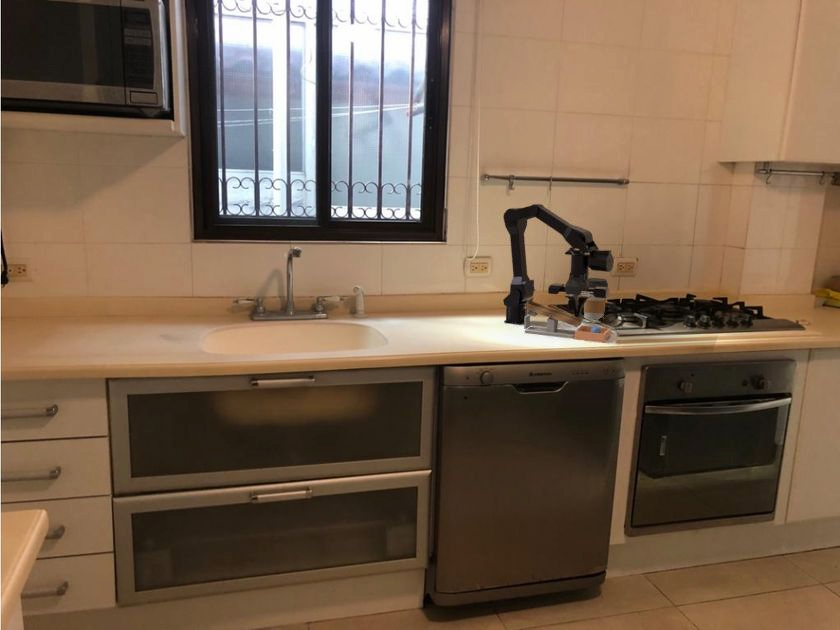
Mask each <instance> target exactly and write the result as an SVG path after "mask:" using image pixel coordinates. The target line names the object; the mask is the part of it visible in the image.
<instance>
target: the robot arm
mask: <svg viewBox="0 0 840 630" xmlns="http://www.w3.org/2000/svg"><path fill="white" fill-rule="evenodd" d="M534 218H536V219H538V221H539V220H540V222H542V223H543V224H545V225H546V226H548V227H549V228H551V229H553V230H554V231H556V232H557V233H559V234H560V235H561V236H562V238H563V239H564V242H566V243H567V244H568V245H569V246H571V247H569V249H568V250H566V251H565V252H564V254H565V256H566V255H567V256H570V270H569V271H570V272H569V277H568V280H567V281H566V282H565V283H558V282H557V283H556V282H555V283H551V284H550V285H549V286H548V289H547V290H548V291H547V293H548V294H550V295H558V294H559V293H565V296H564V297H565V298H567V299H568V300H569V301H570V304H571V306H572V310H573V313H574V315H575V316H576V317H578V316H580V314H581V312H582V310H583V309H584V303H585V302H586V300H587V299H589V298H590V297H591V294H593V295H594V296H595V297H596V298H606V299H607V298H608V297H609V296H610V288H609V286H608V287H599V286H597V287H595V288H594V289H590V288H589V283H588V278H589V274H590V270H591V271H594V272H607V273H610V272H611V271H612V270H613V267H614V264H615V262H614V260H615V259H614V257H613V254H612V250H611V249H605V250H603V249H599V247H598V246H597V244H596V243H595V240H594V238H593V233H592V232H591V231H590V230H588V229H585V228H584V227H581V226H578V225H574V224H571V223H569V221H566V220H565V219H564V218H563V217H561V216H559V215H557V214H556V213H555V212H553V211H551V210H550V209H548V208H547V207H545V206H544V205H543V204H541V203H535V204H534V203H532V204H531V205H529V206H526V207H525V206H524V207H512V208H508V209H506V210H505V211H504V212H503V222H504V226H505V229H506V231H507V232H508V235H509V239H510V241H509V242H510V252H511V264H512V265H511V266H512V276H513V277H512V279H511V282H510V284H509V285H510V286H509V287H510V288H509V294H508V295H506V297H504V299H502V301H503V305H504V306H506V307H505V308H506V310H505V311H506V312H505V320H504V321H503V322H504V323H506V324H507V323H508V324H516V325H524V318H525V316H527V315H528V310H527V309H525V305H526V302H527V299H529V298H531V297H534V292H535V291H536V289H535V279H530V277H529V275H528V269H527V268H528V265H527V255H526V240H525V233H526V229H527V227H528V220H531V219H534Z"/></svg>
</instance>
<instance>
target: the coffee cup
mask: <svg viewBox="0 0 840 630" xmlns="http://www.w3.org/2000/svg"><path fill="white" fill-rule="evenodd" d="M588 283H589V288H590V289H594V288H595V287H597V286H599V287H608V288H609V282H608V280H607V279H605V278H601V277H599V278H597V277H588ZM606 302H607V297H606V298H596V297H595V296H594V295H593V294H591V297H590V298H589V299H587V300H586V302H585V303H584V306H583V313H584V315H583V317H584V318H586V319H600V318H602V317H603V316H604V315H605V309H606V304H607V303H606ZM584 318H583V319H584ZM603 318H604V317H603Z"/></svg>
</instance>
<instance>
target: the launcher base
mask: <svg viewBox="0 0 840 630" xmlns="http://www.w3.org/2000/svg"><path fill="white" fill-rule="evenodd" d="M523 325H524V326H523V329H524V334H532V335H540V336H548V337H556V338H557V337H558V338H566V339H575V331H576V330H577V329H576V330H574V329H566V328H558V327H559V321H558V320H555V319H553V318H549V317H548V318H547V319H546V327H545V326H540V325H539V326H538V325H531V315H529V314H527V316H525V318H524V323H523ZM530 325H531V326H530Z"/></svg>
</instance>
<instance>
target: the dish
mask: <svg viewBox="0 0 840 630" xmlns="http://www.w3.org/2000/svg"><path fill="white" fill-rule="evenodd" d="M593 327H594V326H591V325H583V324H582V325H581V326H579V327H577V329H576V331H575V337H574V340H579V341H589V342H595V343H596V342H597V343H602V344H603V343H606V341H607V340H608V339H609V338H610V337H611V329H612V328H611V327H610V328H609V327H602V326H598V327H599V328H600V329H601V334H600V333H591V329H592V328H593Z"/></svg>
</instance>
